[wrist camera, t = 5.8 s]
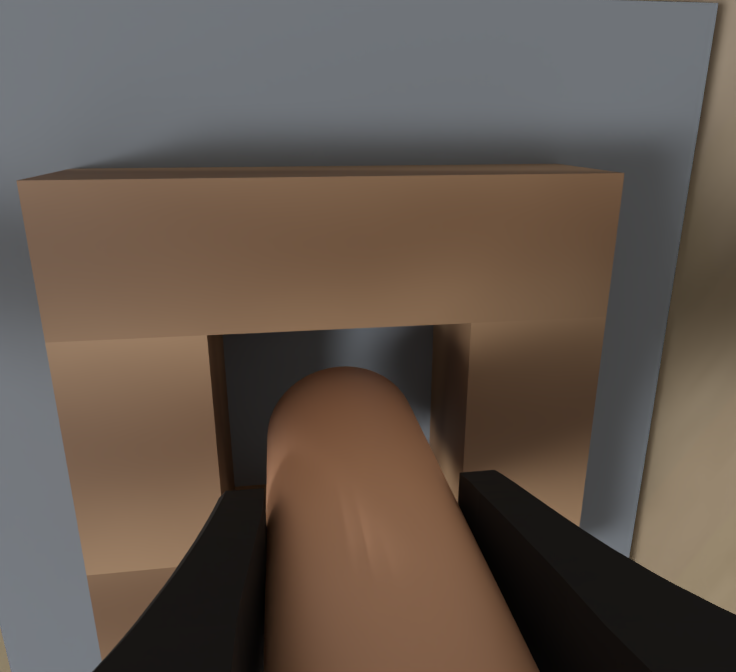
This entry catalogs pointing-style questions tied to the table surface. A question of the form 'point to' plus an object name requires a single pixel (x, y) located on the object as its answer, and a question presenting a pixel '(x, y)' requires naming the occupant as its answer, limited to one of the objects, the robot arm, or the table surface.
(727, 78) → the table surface
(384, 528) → the dowel
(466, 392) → the square frame
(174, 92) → the mat
